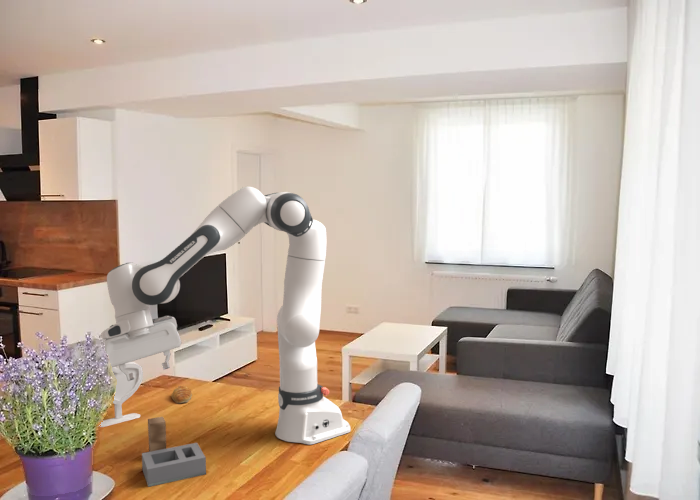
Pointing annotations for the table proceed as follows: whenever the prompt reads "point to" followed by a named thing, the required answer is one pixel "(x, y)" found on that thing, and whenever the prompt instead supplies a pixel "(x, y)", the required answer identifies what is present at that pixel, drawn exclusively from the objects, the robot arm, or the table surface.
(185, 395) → the pastry
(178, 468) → the caddy
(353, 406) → the table surface
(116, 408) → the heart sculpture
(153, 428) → the walnut peg
